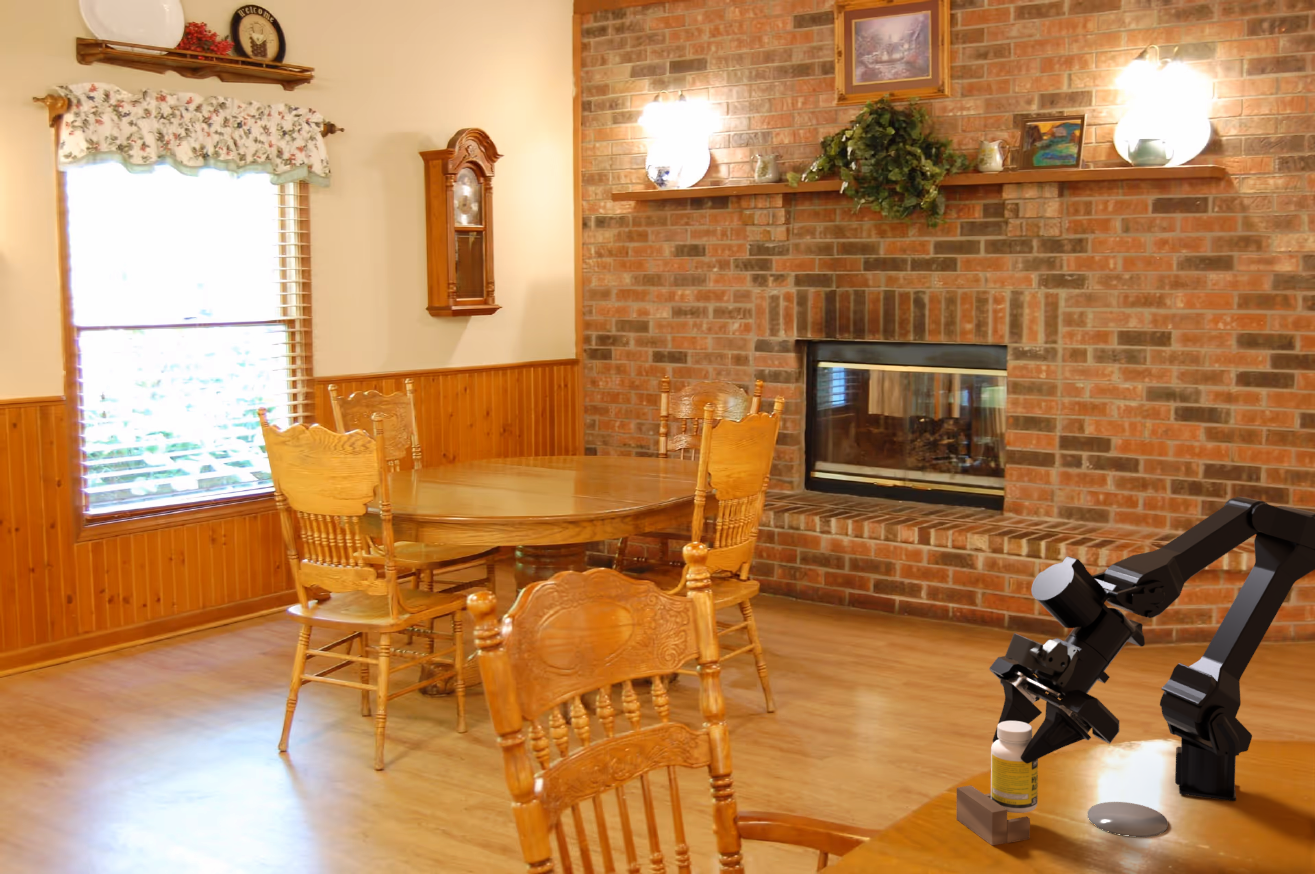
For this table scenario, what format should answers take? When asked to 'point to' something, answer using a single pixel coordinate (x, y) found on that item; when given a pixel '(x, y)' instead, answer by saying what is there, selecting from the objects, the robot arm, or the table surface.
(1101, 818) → the slate coaster
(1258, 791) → the table surface
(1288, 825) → the table surface
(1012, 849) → the table surface
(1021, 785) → the supplement bottle
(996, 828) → the bracket
